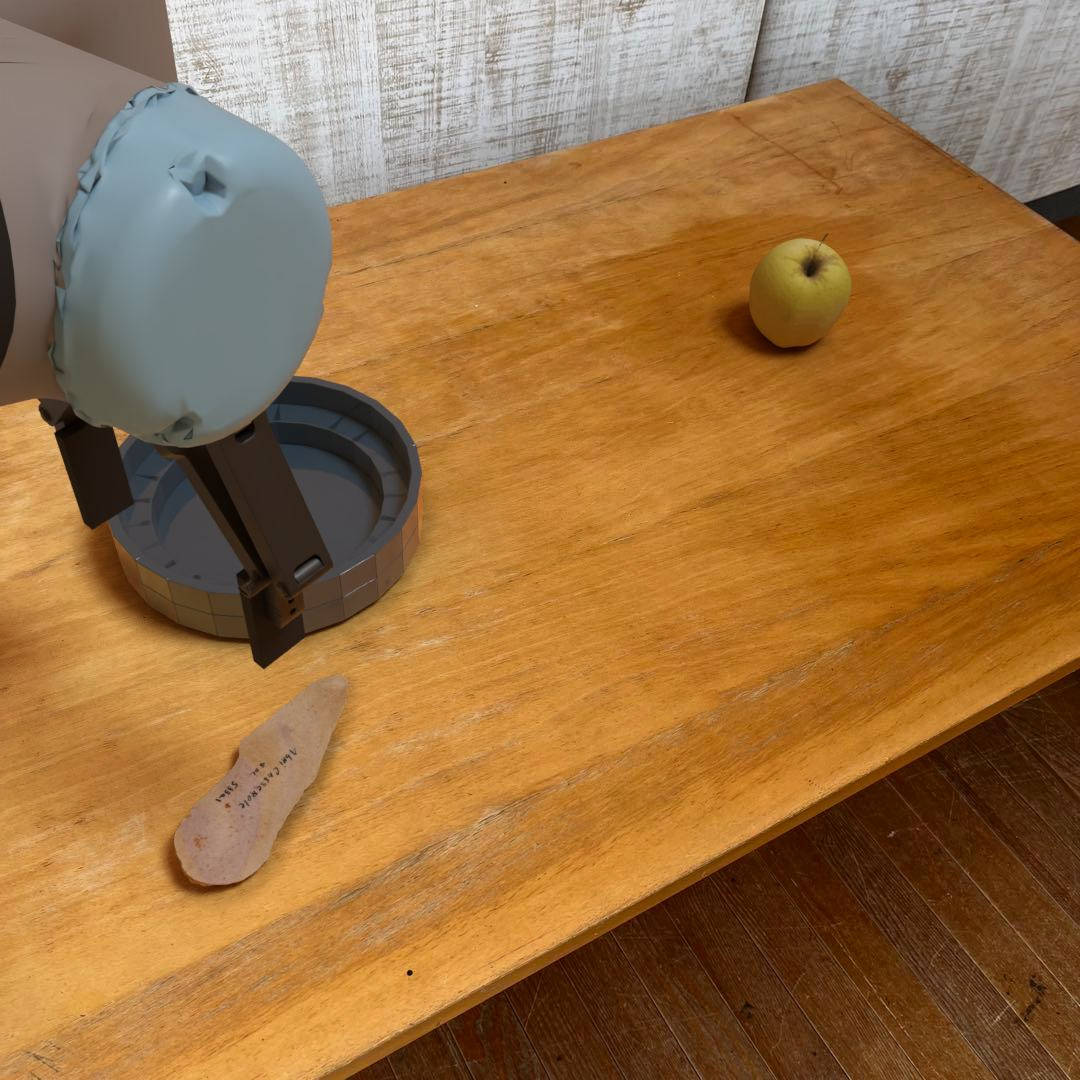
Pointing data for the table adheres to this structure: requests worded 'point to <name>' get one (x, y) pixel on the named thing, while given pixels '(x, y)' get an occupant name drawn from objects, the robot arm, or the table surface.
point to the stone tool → (260, 788)
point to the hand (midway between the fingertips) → (190, 578)
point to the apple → (798, 292)
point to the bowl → (329, 492)
